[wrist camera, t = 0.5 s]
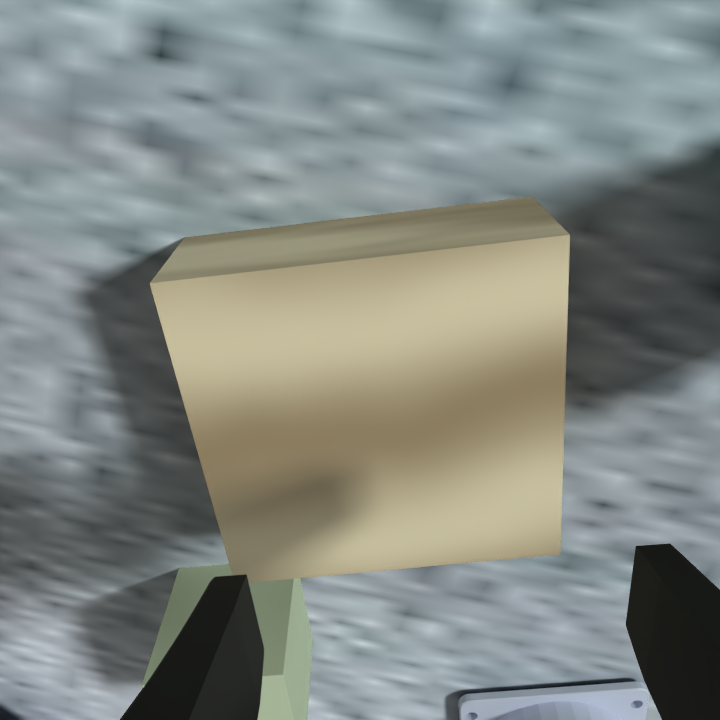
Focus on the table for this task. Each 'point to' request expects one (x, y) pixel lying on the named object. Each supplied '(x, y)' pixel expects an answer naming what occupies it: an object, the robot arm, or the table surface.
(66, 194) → the table surface
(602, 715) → the robot arm
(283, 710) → the green block
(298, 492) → the birch block
